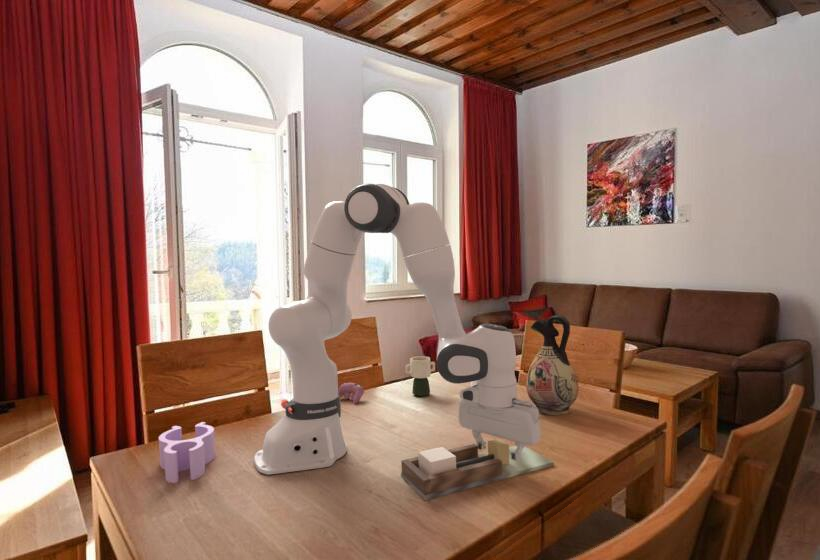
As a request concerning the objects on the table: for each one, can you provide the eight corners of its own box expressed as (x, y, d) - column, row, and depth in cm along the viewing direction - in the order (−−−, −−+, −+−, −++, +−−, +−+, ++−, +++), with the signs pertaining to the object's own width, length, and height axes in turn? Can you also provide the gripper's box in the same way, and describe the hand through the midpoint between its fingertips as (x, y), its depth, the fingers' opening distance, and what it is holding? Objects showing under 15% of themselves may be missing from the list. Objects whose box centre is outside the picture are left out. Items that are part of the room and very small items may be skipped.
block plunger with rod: (431, 485, 102) (430, 462, 102) (418, 474, 107) (418, 452, 107) (511, 464, 110) (511, 443, 110) (496, 455, 116) (495, 434, 116)
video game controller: (362, 406, 166) (367, 385, 168) (354, 403, 162) (360, 382, 165) (340, 402, 171) (345, 382, 173) (332, 399, 167) (337, 379, 170)
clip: (214, 476, 112) (212, 447, 112) (153, 487, 108) (151, 456, 107) (215, 445, 131) (214, 420, 130) (163, 453, 126) (162, 427, 126)
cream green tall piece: (432, 390, 176) (431, 355, 175) (439, 395, 169) (438, 358, 169) (403, 394, 173) (402, 357, 172) (409, 399, 166) (408, 361, 165)
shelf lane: (425, 500, 98) (425, 481, 98) (401, 476, 109) (400, 459, 109) (553, 465, 112) (553, 449, 112) (520, 447, 123) (520, 432, 122)
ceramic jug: (516, 412, 150) (514, 315, 148) (542, 400, 161) (540, 309, 159) (568, 424, 138) (567, 318, 136) (592, 411, 149) (591, 313, 147)
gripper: (545, 399, 107) (546, 461, 108) (469, 384, 121) (471, 439, 122) (530, 407, 102) (531, 471, 103) (453, 390, 116) (455, 447, 117)
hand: (498, 454), depth 112 cm, fingers open, 8 cm apart
